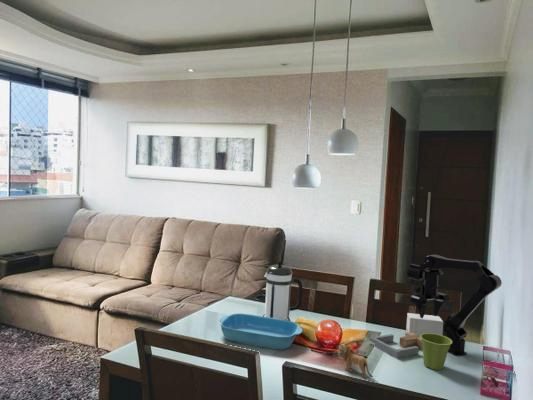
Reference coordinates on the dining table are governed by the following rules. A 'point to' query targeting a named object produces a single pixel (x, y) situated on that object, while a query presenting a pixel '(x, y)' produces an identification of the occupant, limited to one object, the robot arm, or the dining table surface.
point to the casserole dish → (259, 330)
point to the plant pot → (435, 350)
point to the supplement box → (424, 324)
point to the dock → (390, 350)
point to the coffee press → (280, 292)
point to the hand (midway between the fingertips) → (428, 317)
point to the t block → (411, 341)
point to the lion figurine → (353, 359)
